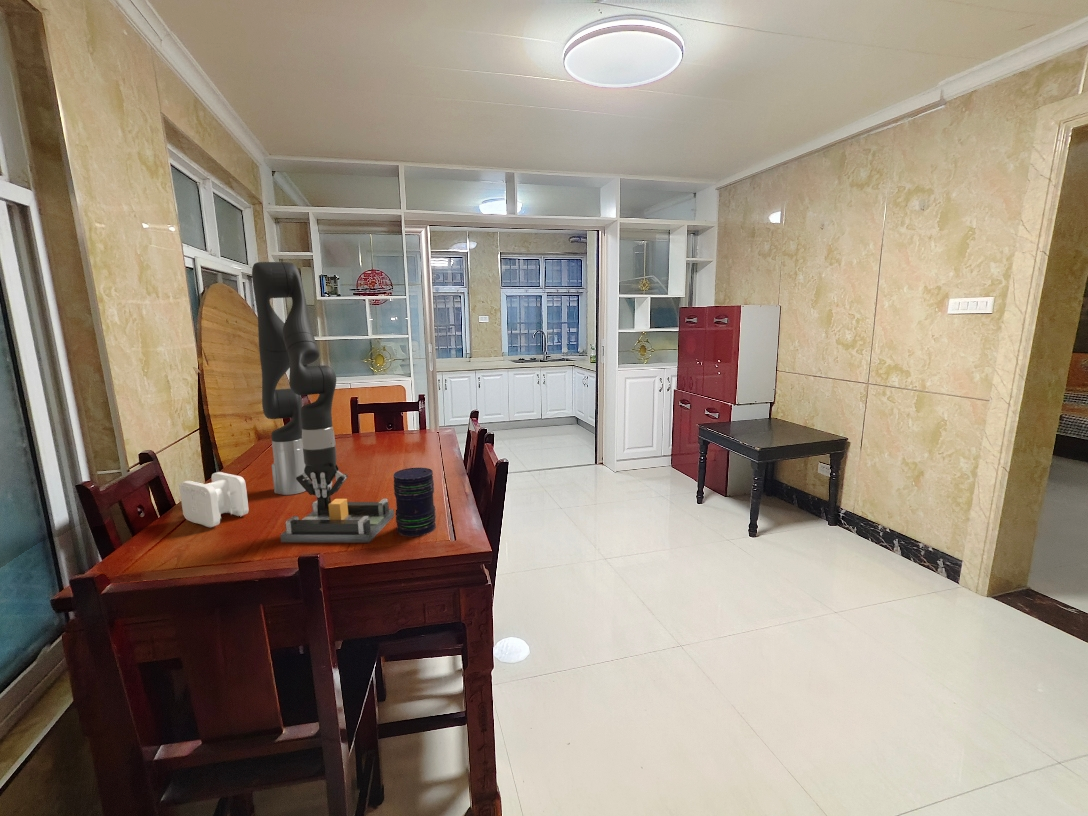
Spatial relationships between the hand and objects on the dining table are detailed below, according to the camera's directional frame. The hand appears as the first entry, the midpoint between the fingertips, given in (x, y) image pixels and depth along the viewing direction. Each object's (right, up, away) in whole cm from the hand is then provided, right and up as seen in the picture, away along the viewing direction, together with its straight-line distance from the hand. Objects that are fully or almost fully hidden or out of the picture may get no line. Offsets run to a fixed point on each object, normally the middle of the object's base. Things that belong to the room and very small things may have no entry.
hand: (325, 509), depth 125 cm
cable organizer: (-34, -5, +9) cm, 35 cm away
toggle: (+4, -3, 0) cm, 5 cm away
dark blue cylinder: (+24, -5, 0) cm, 24 cm away
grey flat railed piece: (+4, -5, +1) cm, 6 cm away
